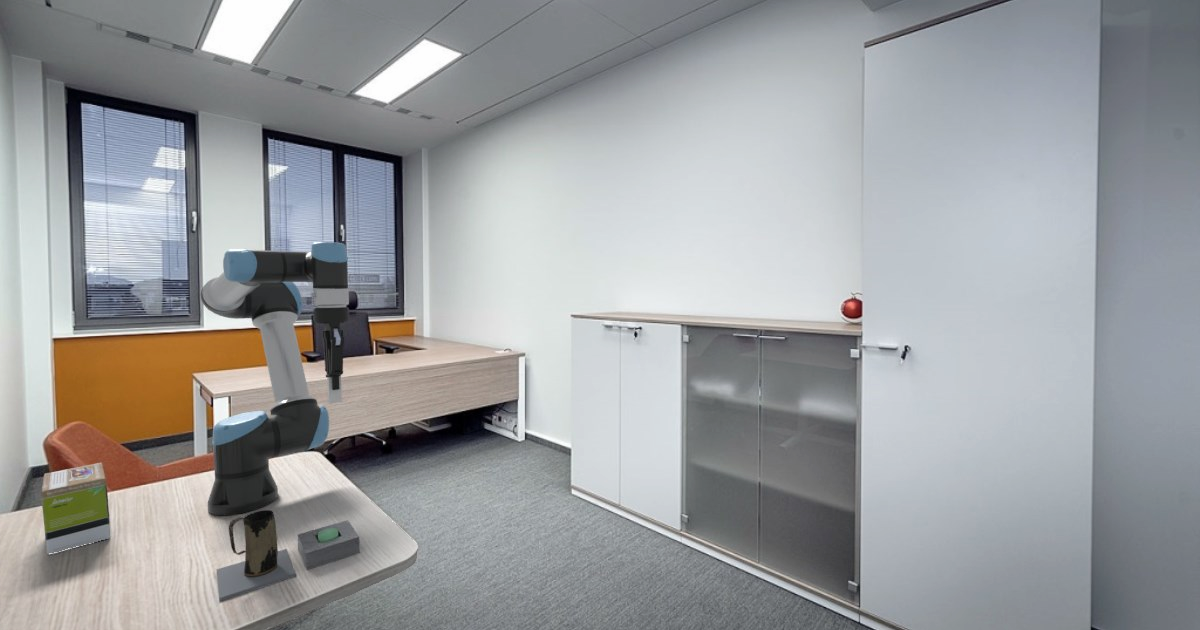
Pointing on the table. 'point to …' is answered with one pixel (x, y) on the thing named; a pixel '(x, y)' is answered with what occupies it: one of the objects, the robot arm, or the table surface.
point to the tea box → (75, 507)
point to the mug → (258, 543)
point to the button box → (328, 545)
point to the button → (327, 534)
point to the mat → (238, 583)
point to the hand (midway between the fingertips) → (335, 402)
